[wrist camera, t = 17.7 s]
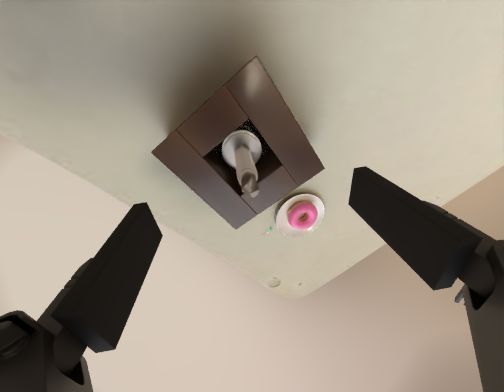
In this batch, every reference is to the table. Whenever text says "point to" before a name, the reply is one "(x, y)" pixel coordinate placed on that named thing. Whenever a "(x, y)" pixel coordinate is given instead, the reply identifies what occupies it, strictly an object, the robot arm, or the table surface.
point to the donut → (300, 215)
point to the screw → (243, 158)
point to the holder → (222, 125)
